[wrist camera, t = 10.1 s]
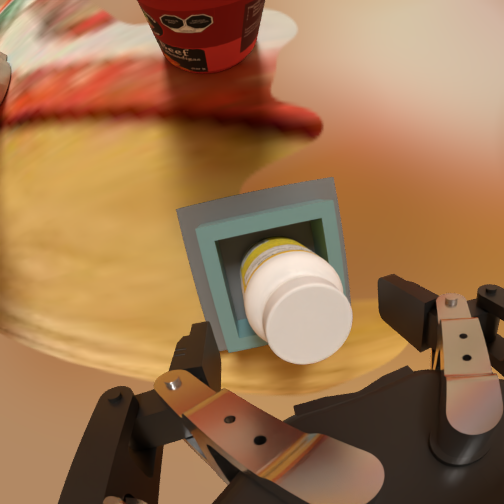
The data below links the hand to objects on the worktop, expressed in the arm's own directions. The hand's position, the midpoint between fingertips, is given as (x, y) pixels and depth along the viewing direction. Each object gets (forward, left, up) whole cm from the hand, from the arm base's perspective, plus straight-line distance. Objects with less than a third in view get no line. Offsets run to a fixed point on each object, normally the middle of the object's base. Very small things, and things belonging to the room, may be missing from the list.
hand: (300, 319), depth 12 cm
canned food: (-20, -1, -10) cm, 22 cm away
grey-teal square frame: (0, 0, -10) cm, 10 cm away
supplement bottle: (0, 0, -9) cm, 9 cm away
